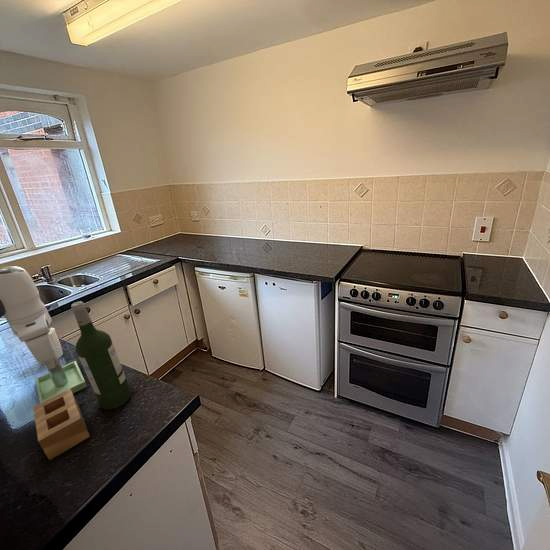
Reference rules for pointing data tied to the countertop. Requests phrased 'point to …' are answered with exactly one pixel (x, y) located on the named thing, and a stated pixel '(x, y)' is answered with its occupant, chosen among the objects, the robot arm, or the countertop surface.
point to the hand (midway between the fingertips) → (50, 361)
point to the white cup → (55, 343)
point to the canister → (57, 373)
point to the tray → (74, 383)
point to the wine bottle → (100, 361)
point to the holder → (59, 424)
